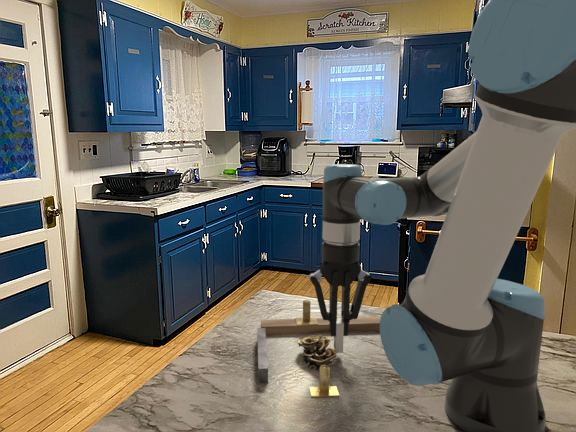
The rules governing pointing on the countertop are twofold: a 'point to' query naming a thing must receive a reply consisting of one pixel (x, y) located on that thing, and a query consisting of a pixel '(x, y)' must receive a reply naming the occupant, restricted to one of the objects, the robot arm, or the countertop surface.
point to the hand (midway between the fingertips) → (338, 349)
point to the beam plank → (316, 324)
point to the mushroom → (317, 351)
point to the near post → (324, 385)
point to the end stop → (262, 356)
